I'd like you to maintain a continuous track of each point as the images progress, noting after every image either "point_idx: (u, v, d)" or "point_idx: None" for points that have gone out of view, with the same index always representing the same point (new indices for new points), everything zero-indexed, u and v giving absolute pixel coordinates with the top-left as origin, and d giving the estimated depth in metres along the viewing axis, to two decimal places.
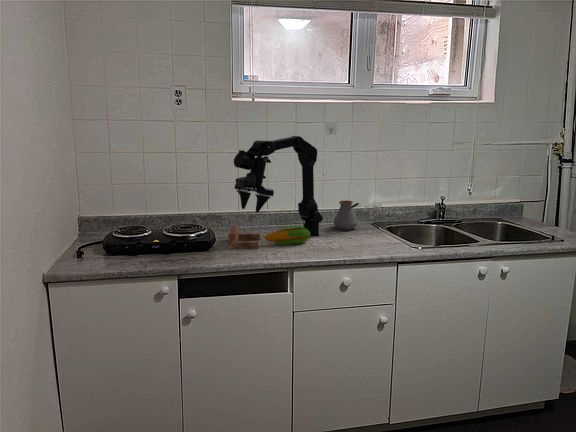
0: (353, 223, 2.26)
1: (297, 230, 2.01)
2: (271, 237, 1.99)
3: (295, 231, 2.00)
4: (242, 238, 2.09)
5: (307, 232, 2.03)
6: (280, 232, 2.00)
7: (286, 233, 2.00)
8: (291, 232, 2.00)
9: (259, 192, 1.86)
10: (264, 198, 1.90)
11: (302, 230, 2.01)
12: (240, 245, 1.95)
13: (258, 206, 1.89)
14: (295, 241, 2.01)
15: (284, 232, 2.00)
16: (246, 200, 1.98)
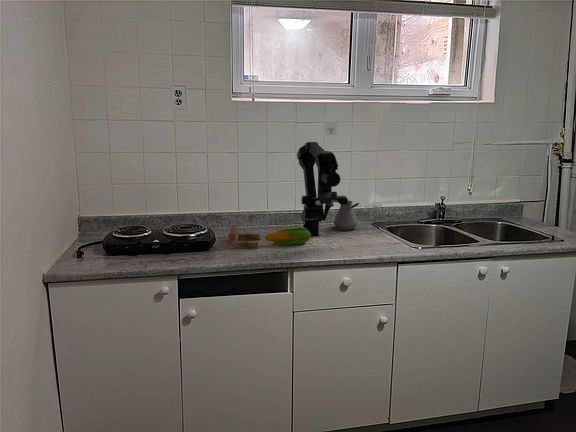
0: (353, 223, 2.26)
1: (297, 231, 2.00)
2: (271, 238, 1.99)
3: (295, 232, 1.99)
4: (242, 238, 2.09)
5: (307, 233, 2.01)
6: (280, 232, 2.00)
7: (286, 233, 2.00)
8: (291, 233, 1.99)
9: (343, 203, 1.97)
10: None
11: (302, 231, 2.00)
12: (240, 245, 1.95)
13: (326, 215, 2.01)
14: (295, 242, 2.00)
15: (284, 232, 2.00)
16: None
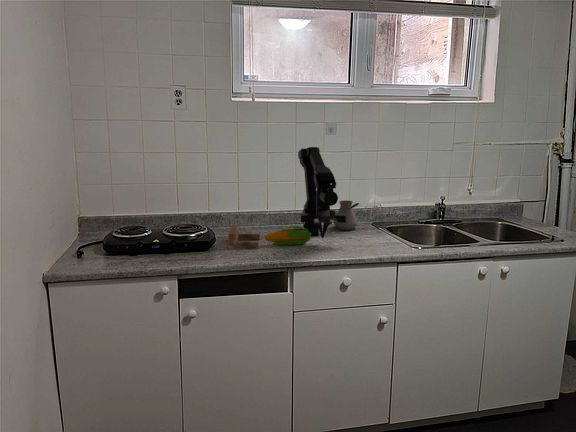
0: (353, 223, 2.26)
1: (297, 231, 1.99)
2: (270, 238, 1.99)
3: (294, 232, 1.99)
4: (242, 238, 2.09)
5: (307, 233, 2.01)
6: (279, 232, 1.99)
7: (285, 234, 1.99)
8: (290, 233, 1.99)
9: (342, 221, 1.99)
10: None
11: (302, 231, 2.00)
12: (240, 245, 1.95)
13: (325, 232, 2.02)
14: (294, 242, 1.99)
15: (284, 232, 2.00)
16: None
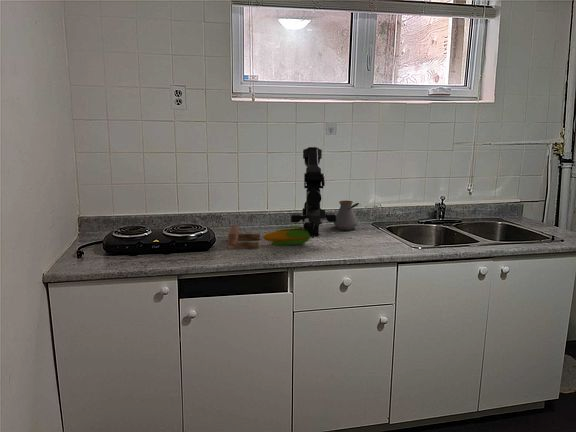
0: (353, 223, 2.26)
1: (295, 231, 1.99)
2: (269, 237, 1.99)
3: (293, 232, 1.99)
4: (242, 238, 2.09)
5: (306, 233, 2.00)
6: (278, 232, 1.99)
7: (284, 233, 1.99)
8: (289, 233, 1.98)
9: (332, 220, 1.98)
10: None
11: (301, 231, 1.99)
12: (240, 245, 1.95)
13: (315, 232, 2.02)
14: (293, 242, 1.99)
15: (283, 232, 1.99)
16: None
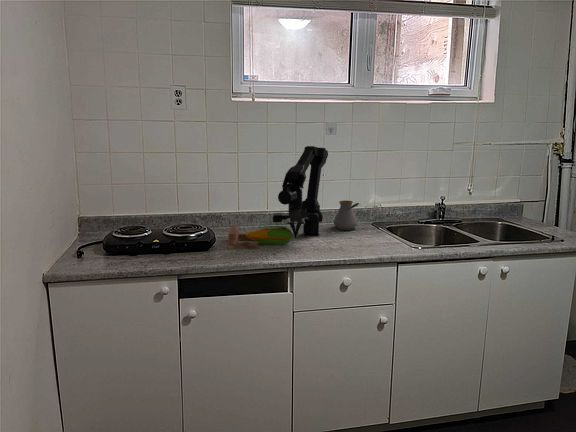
0: (353, 223, 2.26)
1: (277, 230, 2.00)
2: (251, 236, 2.01)
3: (274, 231, 1.99)
4: (242, 238, 2.09)
5: (288, 233, 2.00)
6: (260, 231, 2.01)
7: (266, 233, 2.00)
8: (270, 232, 1.99)
9: (314, 220, 1.98)
10: None
11: (282, 231, 2.00)
12: (240, 245, 1.95)
13: (297, 232, 2.02)
14: (274, 241, 2.00)
15: (264, 231, 2.01)
16: None
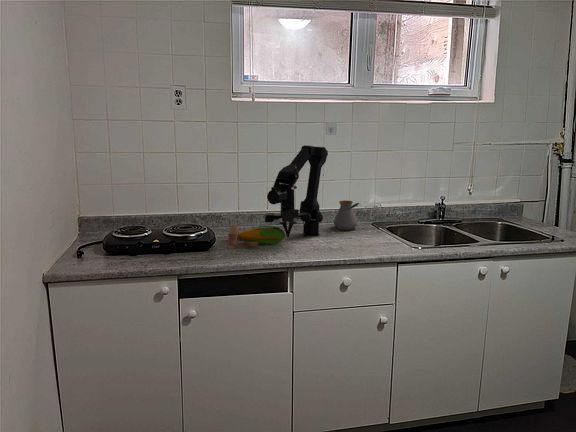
0: (353, 223, 2.26)
1: (269, 230, 2.00)
2: (243, 236, 2.01)
3: (266, 231, 2.00)
4: None
5: (280, 233, 2.00)
6: (252, 231, 2.01)
7: (258, 232, 2.01)
8: (262, 232, 2.00)
9: (306, 220, 1.98)
10: None
11: (274, 231, 2.00)
12: (240, 245, 1.95)
13: None
14: (266, 241, 2.00)
15: (257, 231, 2.01)
16: None
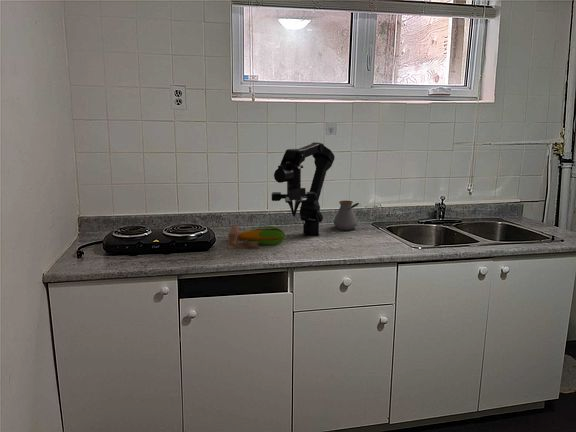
0: (353, 223, 2.26)
1: (268, 231, 1.99)
2: (243, 236, 2.01)
3: (266, 232, 1.99)
4: None
5: (280, 234, 2.00)
6: (252, 231, 2.01)
7: (258, 233, 2.00)
8: (262, 232, 1.99)
9: (312, 199, 2.01)
10: None
11: (274, 231, 1.99)
12: (240, 245, 1.95)
13: (296, 211, 2.04)
14: (266, 242, 2.00)
15: (256, 231, 2.01)
16: None
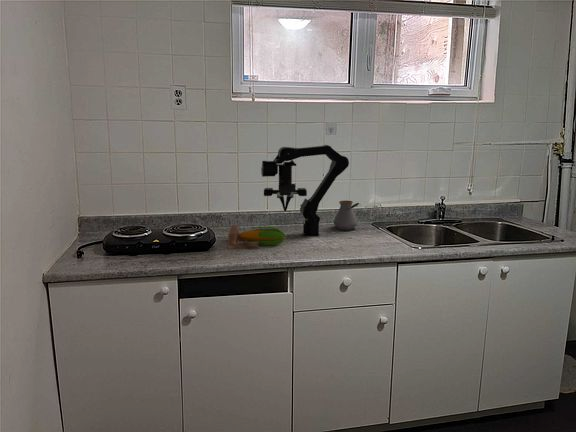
0: (353, 223, 2.26)
1: (268, 231, 1.98)
2: (243, 236, 2.01)
3: (265, 232, 1.98)
4: None
5: (279, 234, 1.99)
6: (252, 231, 2.01)
7: (257, 233, 2.00)
8: (261, 233, 1.99)
9: (302, 194, 2.10)
10: None
11: (273, 232, 1.98)
12: (240, 245, 1.95)
13: (287, 206, 2.14)
14: (265, 242, 1.99)
15: (256, 232, 2.00)
16: None
